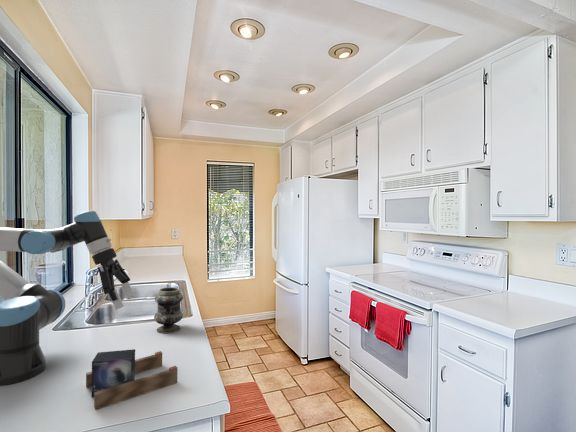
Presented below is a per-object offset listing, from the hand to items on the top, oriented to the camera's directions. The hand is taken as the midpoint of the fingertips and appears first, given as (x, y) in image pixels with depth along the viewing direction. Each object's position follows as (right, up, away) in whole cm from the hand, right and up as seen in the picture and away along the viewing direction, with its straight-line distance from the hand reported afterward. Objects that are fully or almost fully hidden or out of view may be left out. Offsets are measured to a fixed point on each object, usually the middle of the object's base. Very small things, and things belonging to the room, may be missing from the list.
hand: (126, 302), depth 122 cm
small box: (+10, -19, -27) cm, 34 cm away
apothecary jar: (+8, -18, +22) cm, 30 cm away
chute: (+14, -18, -23) cm, 33 cm away
